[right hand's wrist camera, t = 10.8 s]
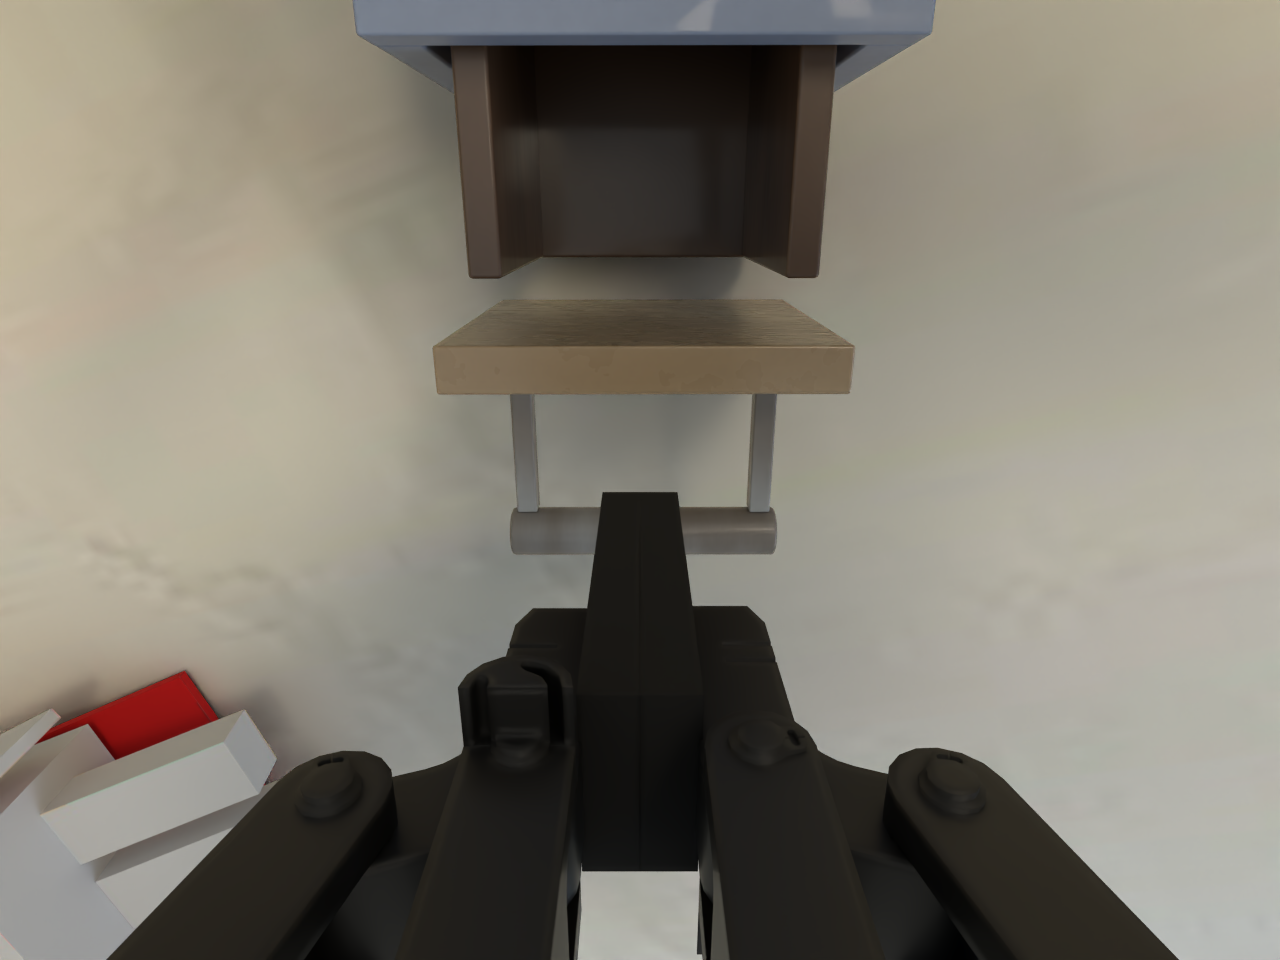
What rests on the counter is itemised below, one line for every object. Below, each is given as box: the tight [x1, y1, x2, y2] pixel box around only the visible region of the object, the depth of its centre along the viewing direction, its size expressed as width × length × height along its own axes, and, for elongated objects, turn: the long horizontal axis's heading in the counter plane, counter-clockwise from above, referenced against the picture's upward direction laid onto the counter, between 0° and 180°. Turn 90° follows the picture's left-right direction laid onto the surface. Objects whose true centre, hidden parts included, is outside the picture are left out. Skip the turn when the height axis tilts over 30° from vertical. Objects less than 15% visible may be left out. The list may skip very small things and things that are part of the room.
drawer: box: [433, 45, 855, 555], centre depth 20 cm, size 24×10×10 cm, turn 0°
